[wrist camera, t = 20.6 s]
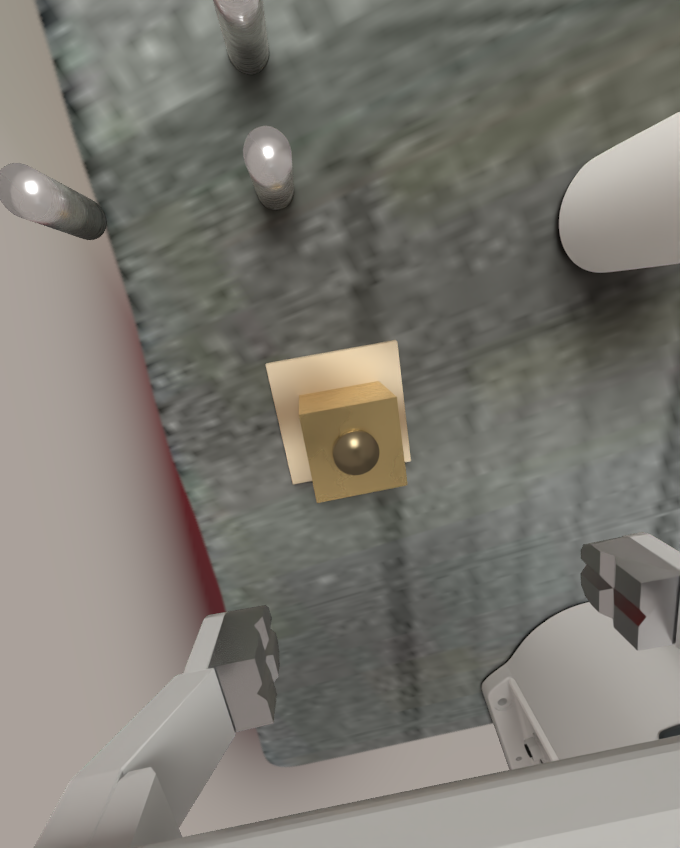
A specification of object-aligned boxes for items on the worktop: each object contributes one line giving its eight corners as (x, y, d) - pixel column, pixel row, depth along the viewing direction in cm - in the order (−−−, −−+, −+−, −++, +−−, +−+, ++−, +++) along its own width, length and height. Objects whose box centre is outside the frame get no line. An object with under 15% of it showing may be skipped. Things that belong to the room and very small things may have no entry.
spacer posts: (296, 206, 20) (295, 178, 16) (73, 242, 19) (9, 223, 15) (231, -159, 16) (205, -336, 11) (-58, -127, 15) (-199, -301, 11)
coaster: (408, 457, 25) (410, 461, 24) (293, 480, 25) (293, 484, 24) (394, 340, 23) (397, 340, 22) (266, 363, 22) (265, 364, 22)
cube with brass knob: (388, 454, 24) (409, 487, 20) (314, 469, 24) (317, 505, 19) (378, 380, 23) (398, 398, 18) (299, 395, 22) (298, 416, 18)
